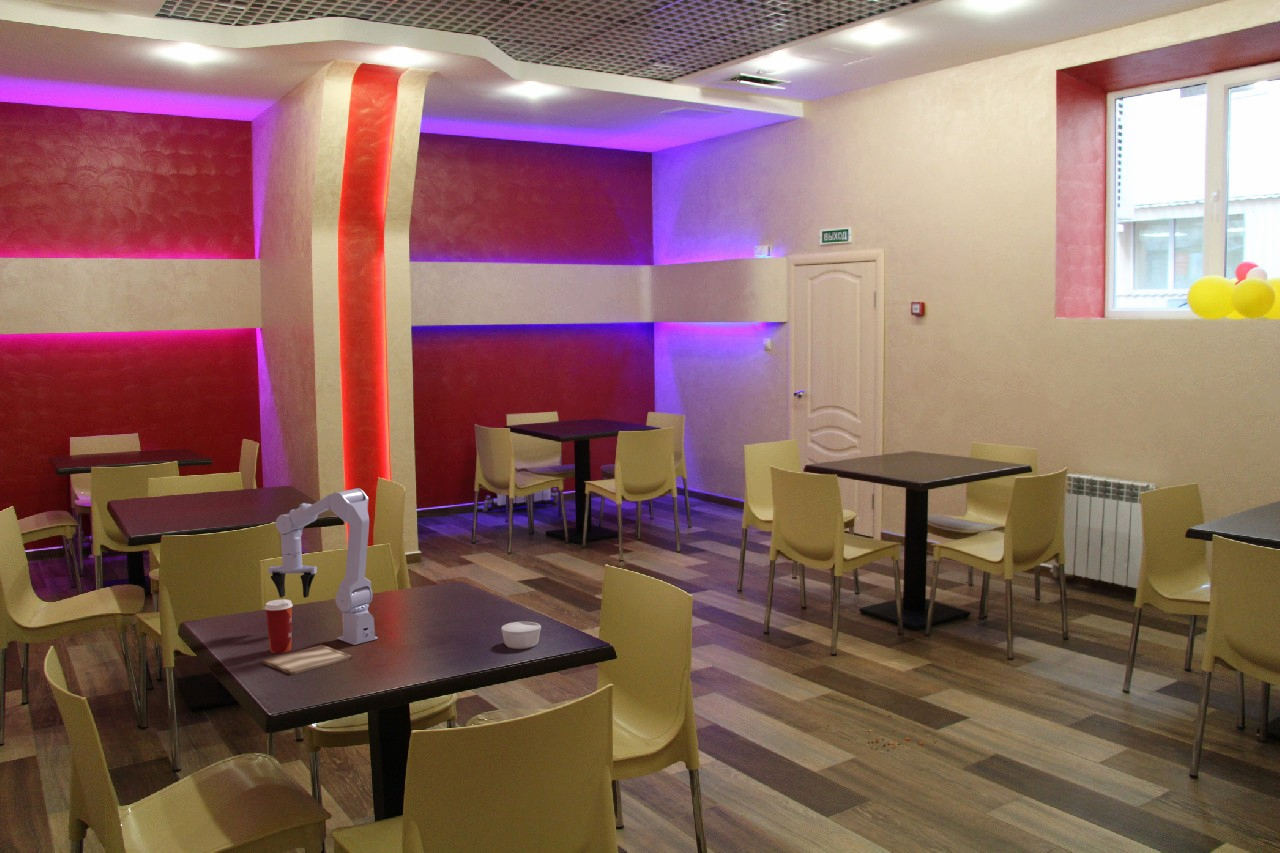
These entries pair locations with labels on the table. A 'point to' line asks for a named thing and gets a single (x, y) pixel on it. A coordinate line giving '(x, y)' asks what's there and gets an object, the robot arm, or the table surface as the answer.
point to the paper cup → (279, 625)
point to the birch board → (307, 659)
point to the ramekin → (521, 634)
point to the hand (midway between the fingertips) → (294, 596)
